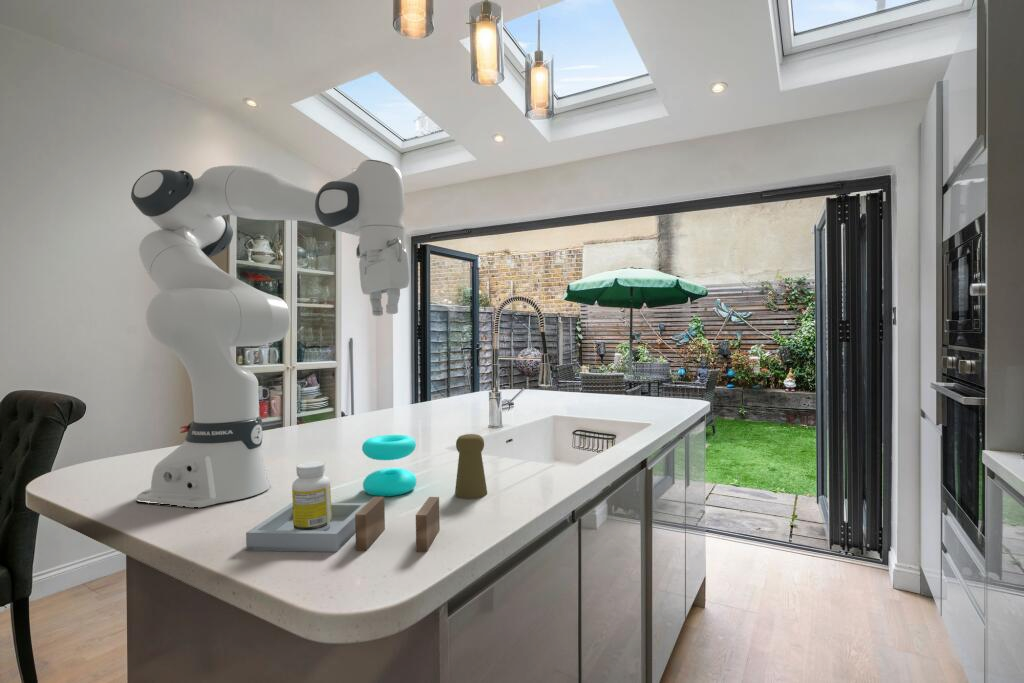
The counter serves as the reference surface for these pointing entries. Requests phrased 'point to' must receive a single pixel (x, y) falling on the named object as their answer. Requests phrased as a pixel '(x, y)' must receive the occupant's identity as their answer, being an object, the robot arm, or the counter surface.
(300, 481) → the supplement bottle
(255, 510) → the counter surface
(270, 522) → the grey tray
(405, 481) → the donuts
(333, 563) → the counter surface
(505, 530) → the counter surface
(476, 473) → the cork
